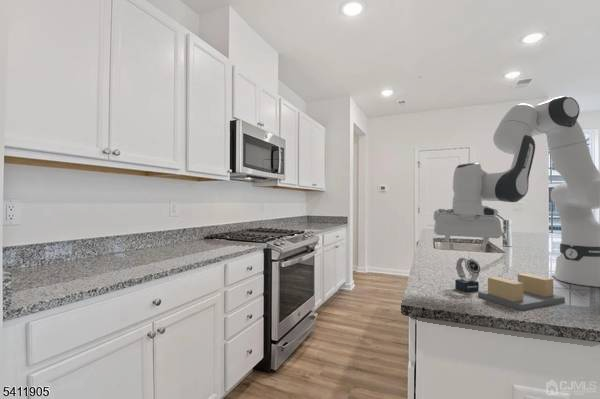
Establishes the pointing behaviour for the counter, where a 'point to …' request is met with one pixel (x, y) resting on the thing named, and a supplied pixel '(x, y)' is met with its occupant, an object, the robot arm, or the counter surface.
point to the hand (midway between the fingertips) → (465, 249)
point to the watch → (474, 270)
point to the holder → (522, 292)
